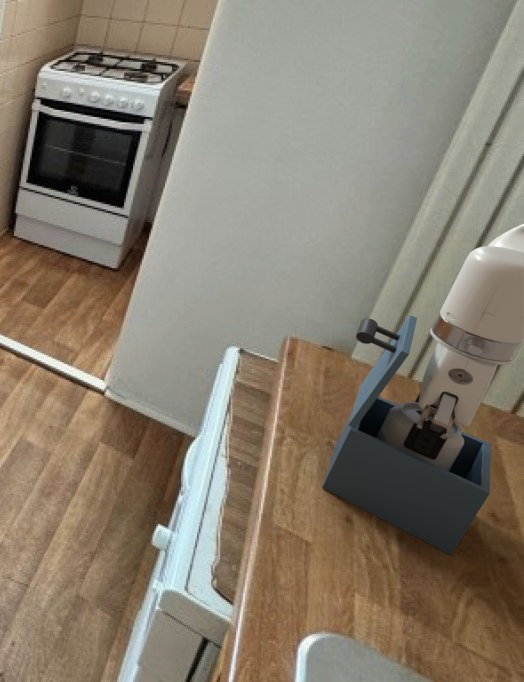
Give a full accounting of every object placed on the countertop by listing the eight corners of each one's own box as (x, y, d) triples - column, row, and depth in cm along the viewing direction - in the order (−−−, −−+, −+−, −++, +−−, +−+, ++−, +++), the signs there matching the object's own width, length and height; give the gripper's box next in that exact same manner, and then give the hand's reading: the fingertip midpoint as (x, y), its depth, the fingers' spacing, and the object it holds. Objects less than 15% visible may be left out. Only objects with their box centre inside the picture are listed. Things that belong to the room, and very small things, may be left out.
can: (440, 484, 88) (475, 422, 83) (426, 510, 84) (463, 447, 80) (372, 449, 94) (401, 389, 89) (357, 472, 90) (387, 411, 85)
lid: (417, 317, 87) (372, 299, 91) (409, 354, 80) (360, 332, 83) (366, 388, 94) (326, 369, 97) (354, 428, 86) (311, 406, 90)
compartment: (455, 502, 89) (491, 443, 85) (450, 555, 82) (489, 493, 77) (335, 445, 98) (362, 389, 94) (321, 487, 91) (350, 429, 87)
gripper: (518, 383, 71) (456, 489, 78) (517, 323, 82) (462, 420, 88) (429, 351, 77) (377, 452, 83) (438, 298, 87) (392, 391, 94)
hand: (421, 435), depth 86 cm, fingers open, 8 cm apart
